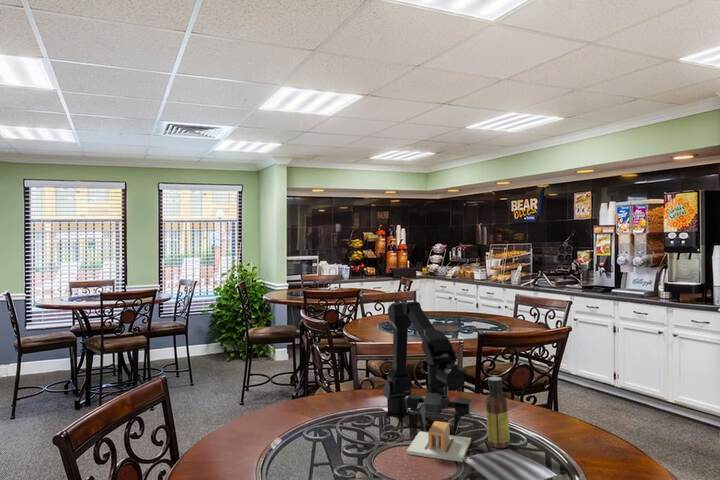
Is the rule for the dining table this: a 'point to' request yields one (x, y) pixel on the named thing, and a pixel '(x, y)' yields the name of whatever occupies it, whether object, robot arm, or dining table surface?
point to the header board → (452, 451)
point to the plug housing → (439, 434)
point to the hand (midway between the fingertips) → (439, 432)
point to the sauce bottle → (497, 415)
